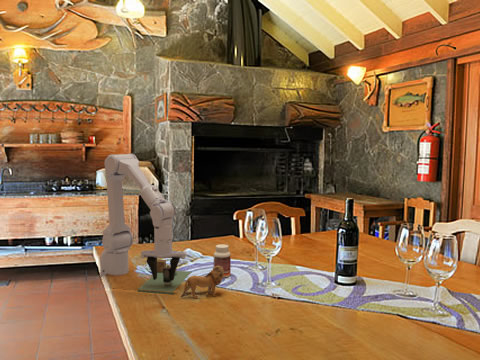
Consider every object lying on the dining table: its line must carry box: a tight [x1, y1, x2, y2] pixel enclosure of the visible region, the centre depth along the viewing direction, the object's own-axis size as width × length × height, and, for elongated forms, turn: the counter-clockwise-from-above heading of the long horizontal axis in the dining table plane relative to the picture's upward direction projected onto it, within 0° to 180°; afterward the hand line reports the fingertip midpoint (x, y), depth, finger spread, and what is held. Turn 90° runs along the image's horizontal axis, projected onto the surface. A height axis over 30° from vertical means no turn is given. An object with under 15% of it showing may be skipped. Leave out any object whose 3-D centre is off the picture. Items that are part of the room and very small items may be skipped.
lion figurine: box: [180, 266, 224, 299], centre depth 140 cm, size 15×5×9 cm, turn 116°
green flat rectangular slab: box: [137, 270, 192, 296], centre depth 152 cm, size 12×21×1 cm, turn 169°
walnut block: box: [157, 258, 167, 273], centre depth 161 cm, size 3×3×4 cm
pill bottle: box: [213, 244, 232, 279], centre depth 159 cm, size 6×6×11 cm
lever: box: [163, 266, 178, 285], centre depth 153 cm, size 4×18×6 cm, turn 3°
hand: (163, 279), depth 146 cm, fingers open, 5 cm apart
